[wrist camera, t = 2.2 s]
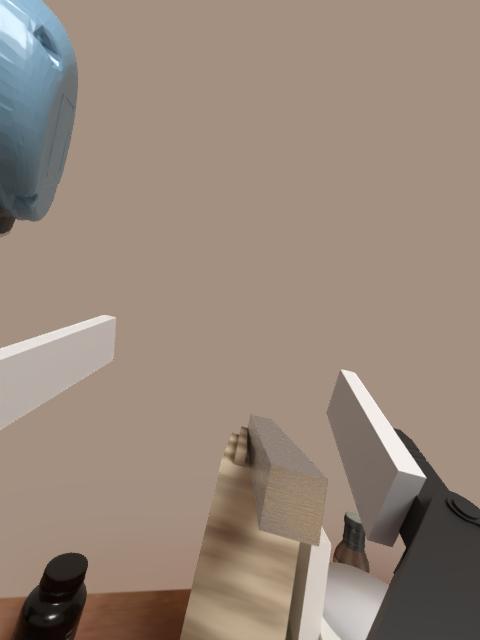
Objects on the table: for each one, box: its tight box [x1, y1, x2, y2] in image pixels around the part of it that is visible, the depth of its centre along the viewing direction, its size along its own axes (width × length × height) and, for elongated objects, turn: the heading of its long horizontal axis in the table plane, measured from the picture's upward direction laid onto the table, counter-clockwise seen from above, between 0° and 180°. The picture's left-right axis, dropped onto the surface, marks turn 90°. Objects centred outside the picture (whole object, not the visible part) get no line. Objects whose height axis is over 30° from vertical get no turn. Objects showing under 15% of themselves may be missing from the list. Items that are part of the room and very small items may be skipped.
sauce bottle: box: [333, 512, 369, 573], centre depth 46 cm, size 6×6×20 cm
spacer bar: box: [247, 415, 328, 547], centre depth 31 cm, size 30×4×4 cm, turn 179°
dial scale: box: [289, 528, 389, 640], centre depth 28 cm, size 13×15×10 cm
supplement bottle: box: [11, 553, 88, 640], centre depth 30 cm, size 7×7×12 cm
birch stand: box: [180, 427, 300, 640], centre depth 33 cm, size 18×10×32 cm, turn 177°
